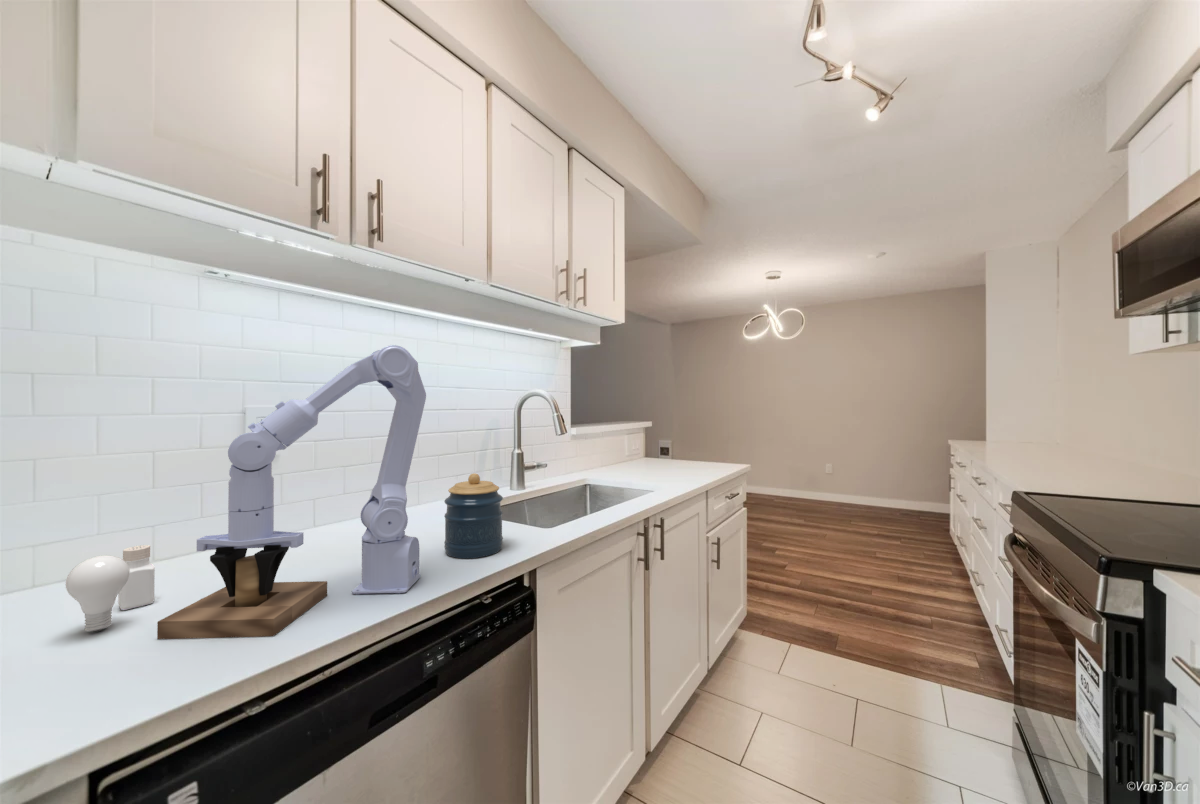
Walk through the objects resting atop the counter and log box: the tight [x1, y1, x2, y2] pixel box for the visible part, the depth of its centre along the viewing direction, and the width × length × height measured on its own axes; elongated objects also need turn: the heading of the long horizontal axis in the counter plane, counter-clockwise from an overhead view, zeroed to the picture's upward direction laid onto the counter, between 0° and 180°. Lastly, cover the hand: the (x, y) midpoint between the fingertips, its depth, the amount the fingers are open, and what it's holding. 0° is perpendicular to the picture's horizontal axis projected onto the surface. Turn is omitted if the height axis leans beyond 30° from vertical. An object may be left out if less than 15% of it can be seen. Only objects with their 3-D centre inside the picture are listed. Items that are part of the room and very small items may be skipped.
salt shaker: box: [117, 544, 156, 611], centre depth 76 cm, size 4×4×10 cm
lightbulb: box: [65, 554, 130, 633], centre depth 67 cm, size 6×6×11 cm
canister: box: [443, 472, 504, 559], centre depth 104 cm, size 13×13×18 cm
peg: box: [235, 554, 267, 607], centre depth 72 cm, size 4×4×8 cm
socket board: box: [156, 580, 328, 640], centre depth 72 cm, size 16×14×2 cm
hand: (251, 593), depth 72 cm, fingers closed on peg, 4 cm apart
